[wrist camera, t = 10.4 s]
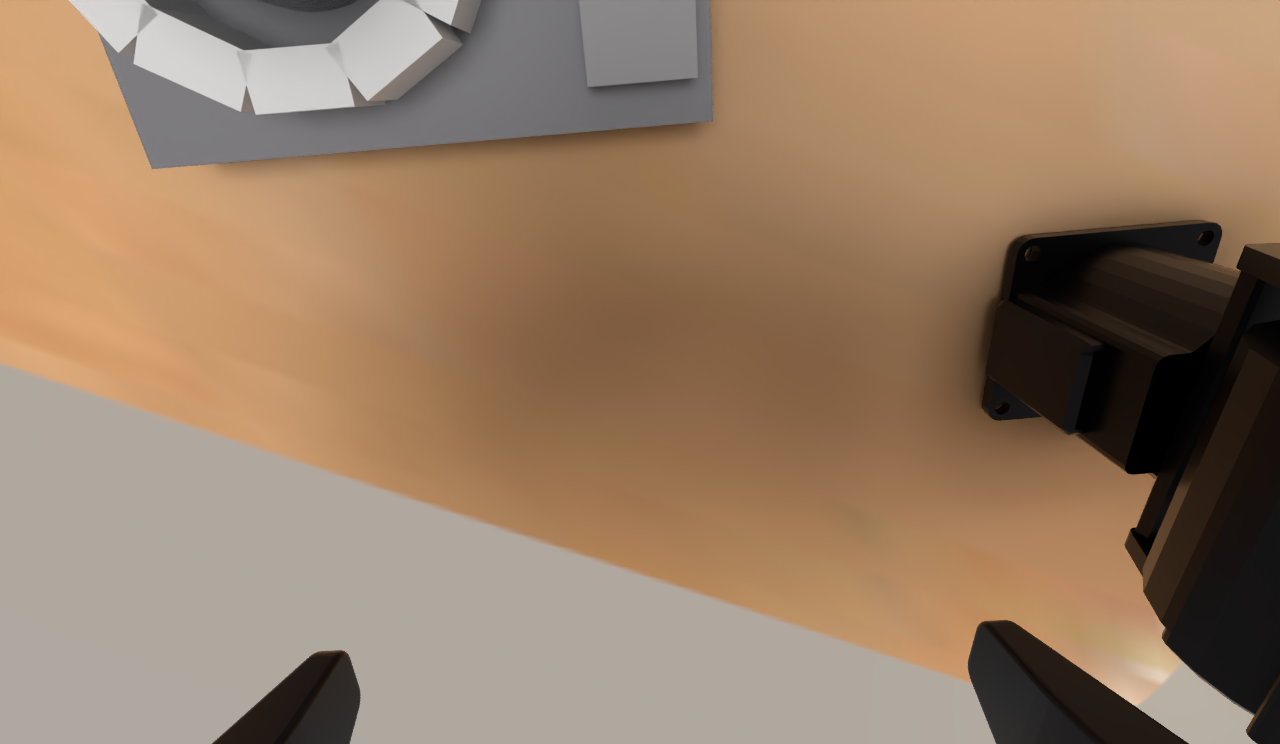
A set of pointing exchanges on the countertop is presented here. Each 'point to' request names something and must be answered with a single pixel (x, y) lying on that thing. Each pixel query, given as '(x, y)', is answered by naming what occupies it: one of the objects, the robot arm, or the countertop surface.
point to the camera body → (397, 72)
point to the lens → (309, 4)
